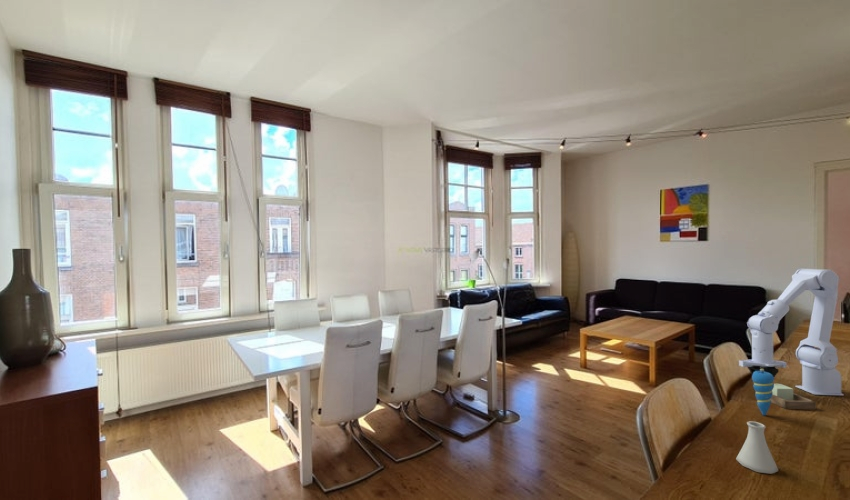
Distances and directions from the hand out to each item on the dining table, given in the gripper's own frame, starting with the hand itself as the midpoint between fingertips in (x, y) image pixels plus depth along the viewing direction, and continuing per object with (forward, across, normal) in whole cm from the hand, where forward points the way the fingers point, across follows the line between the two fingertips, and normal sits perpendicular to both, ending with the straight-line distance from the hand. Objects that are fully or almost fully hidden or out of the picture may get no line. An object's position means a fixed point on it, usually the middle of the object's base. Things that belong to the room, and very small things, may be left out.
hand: (762, 386), depth 135 cm
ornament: (+2, -15, -20) cm, 25 cm away
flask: (+2, -38, -49) cm, 62 cm away
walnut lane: (+2, 0, -10) cm, 11 cm away
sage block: (+2, 0, -4) cm, 5 cm away
